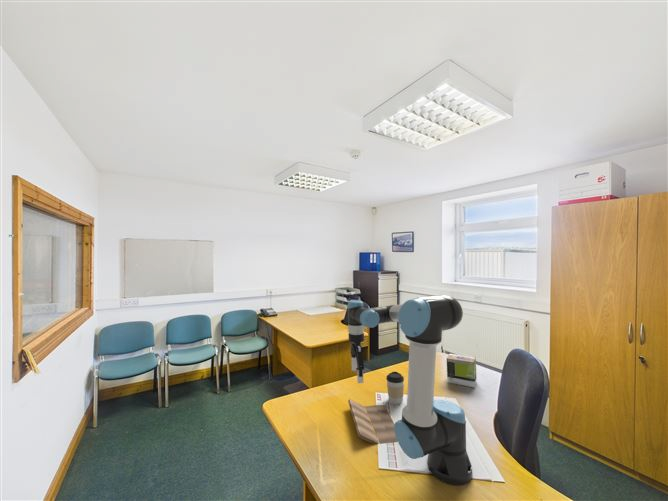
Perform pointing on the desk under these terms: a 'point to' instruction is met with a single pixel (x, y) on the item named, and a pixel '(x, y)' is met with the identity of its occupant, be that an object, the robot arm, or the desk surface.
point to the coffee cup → (395, 387)
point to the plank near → (365, 430)
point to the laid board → (382, 423)
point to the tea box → (461, 370)
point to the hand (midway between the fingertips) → (357, 376)
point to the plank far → (358, 410)
